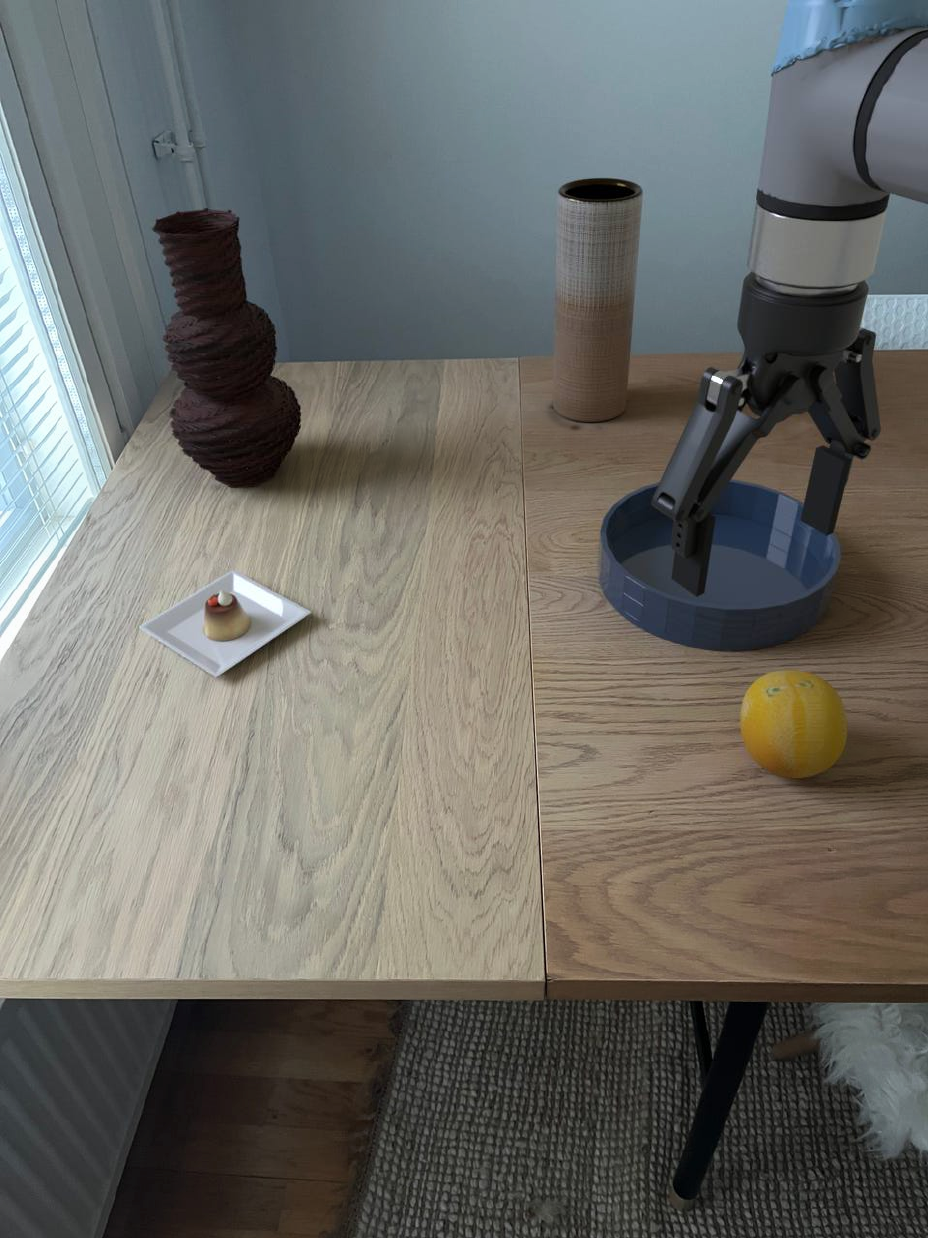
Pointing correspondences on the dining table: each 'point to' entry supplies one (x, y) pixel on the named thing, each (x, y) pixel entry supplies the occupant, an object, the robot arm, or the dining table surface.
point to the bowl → (720, 570)
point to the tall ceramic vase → (595, 296)
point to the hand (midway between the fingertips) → (754, 555)
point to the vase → (223, 355)
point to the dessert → (224, 622)
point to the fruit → (793, 723)
